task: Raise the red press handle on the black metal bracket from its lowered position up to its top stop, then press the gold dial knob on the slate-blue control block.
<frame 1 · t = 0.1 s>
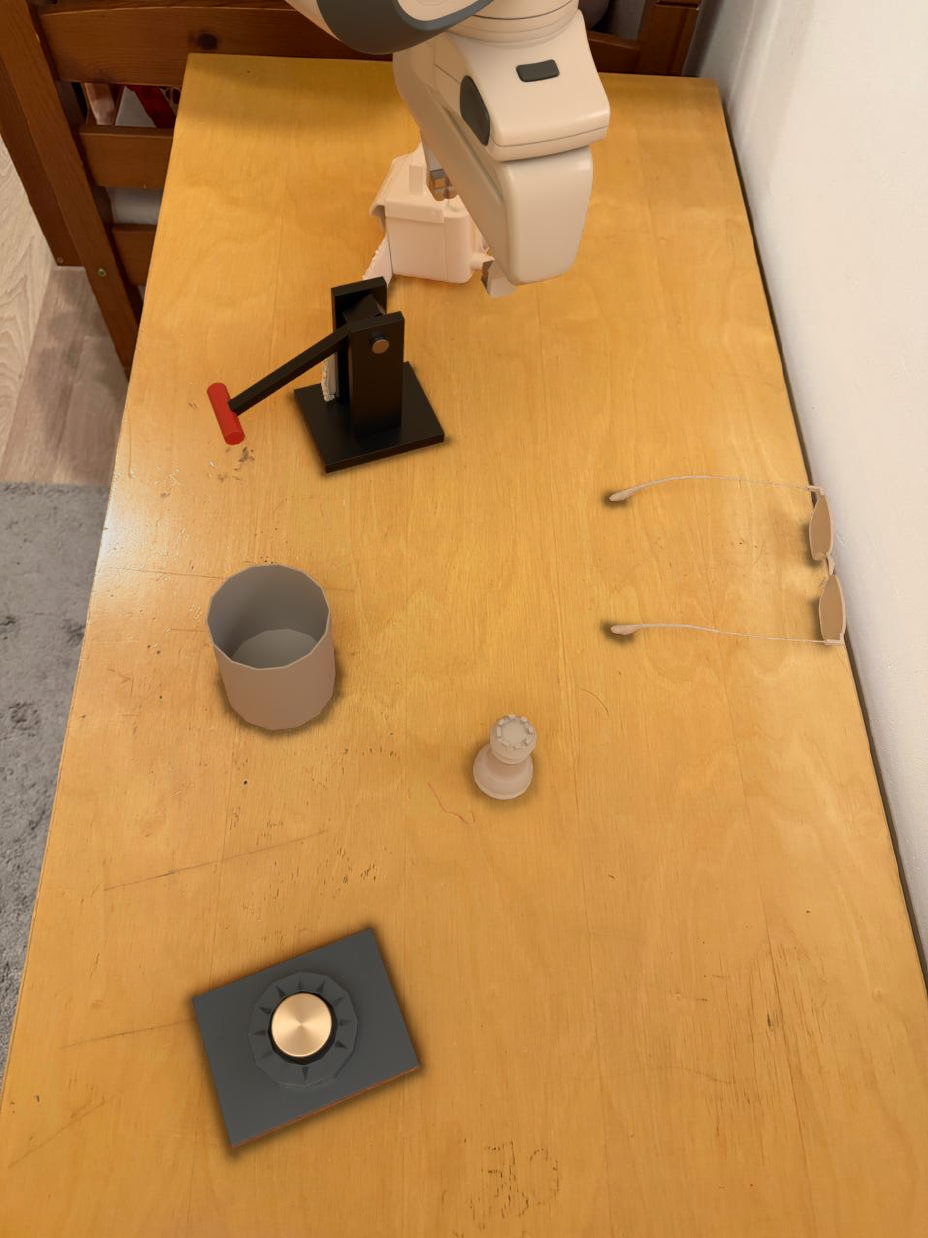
hand: (468, 239, 65), 26 cm above the table, tool pointing down, fingers open, 8 cm apart
press bracket: (368, 419, 91), on the table
gold dial knob: (302, 1026, 61), point 4 cm above the table, slide at 0.1 cm
button block: (306, 1036, 65), on the table
cup: (280, 680, 78), on the table
chainsaw: (431, 296, 99), on the table, touching press bracket
press lever: (298, 365, 81), point 9 cm above the table, hinge at -28.0°
eyeglasses: (714, 574, 85), on the table
rook chess piece: (501, 774, 75), on the table
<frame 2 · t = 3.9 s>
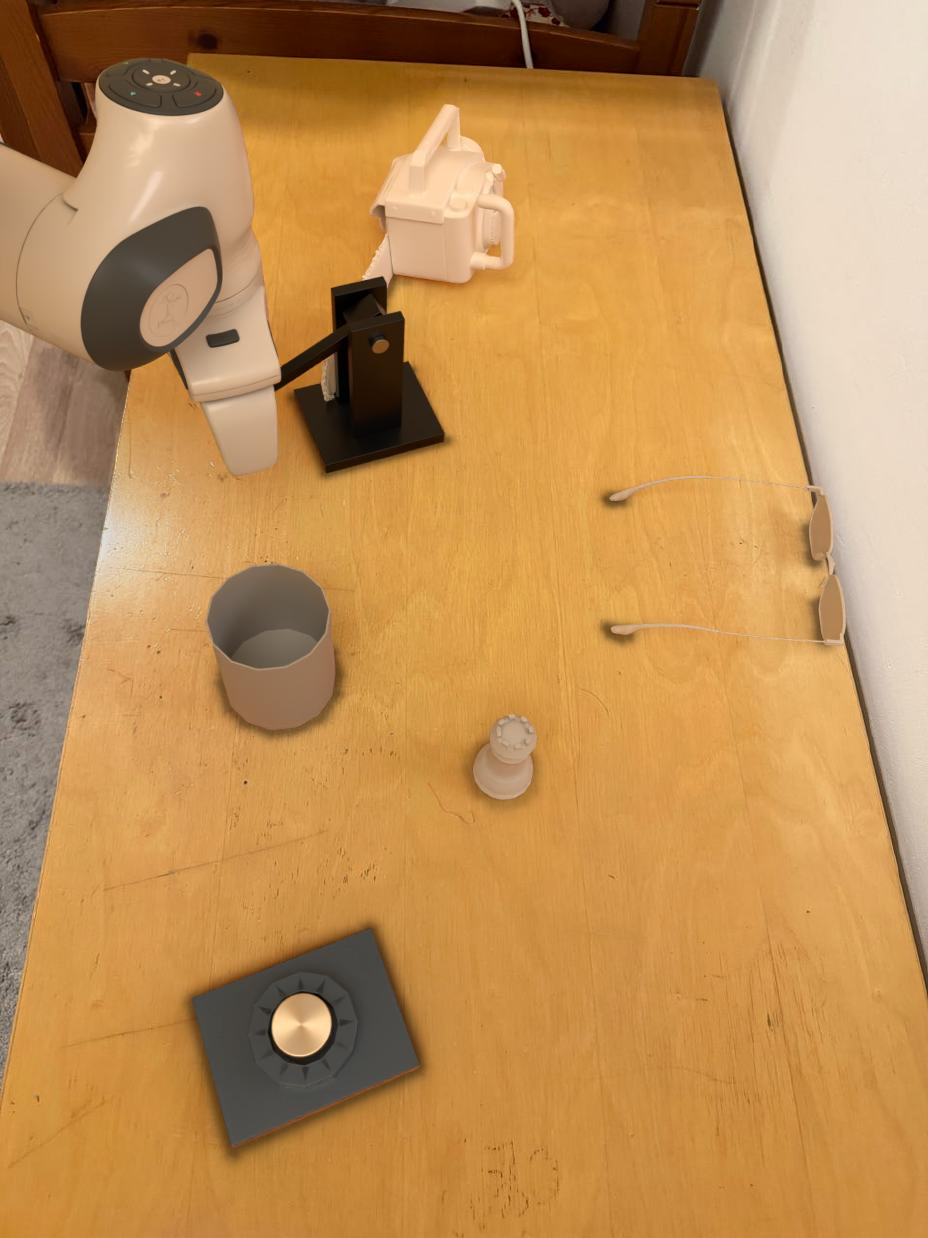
hand: (227, 421, 83), 5 cm above the table, tool pointing down, fingers closed on press lever, 5 cm apart
press lever: (298, 365, 81), point 9 cm above the table, hinge at -28.0°, touching gripper
everything else where it was.
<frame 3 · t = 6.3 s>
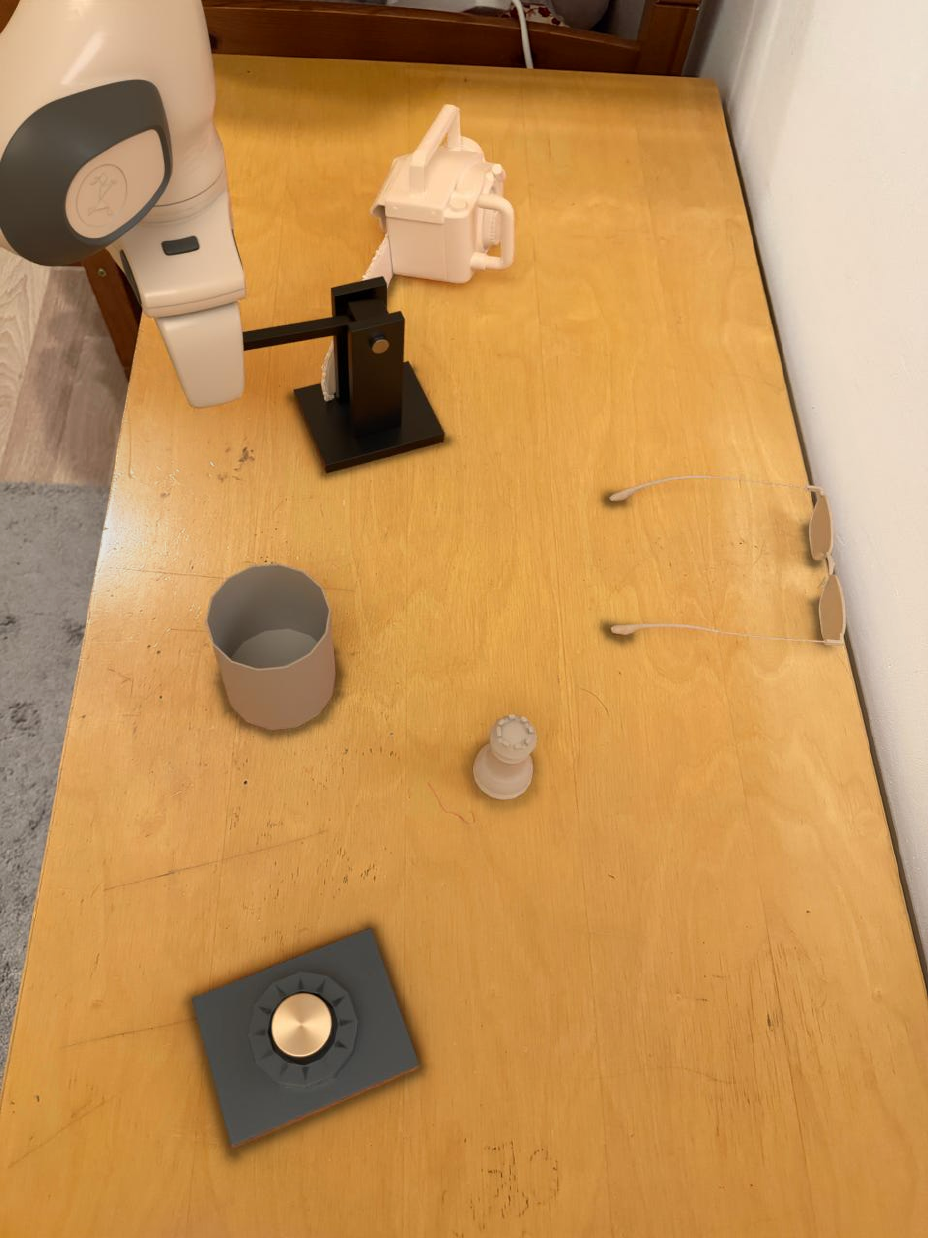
hand: (190, 357, 76), 13 cm above the table, tool pointing down, fingers closed on press lever, 5 cm apart
press lever: (285, 334, 78), point 13 cm above the table, hinge at 4.8°, touching gripper
everything else where it was.
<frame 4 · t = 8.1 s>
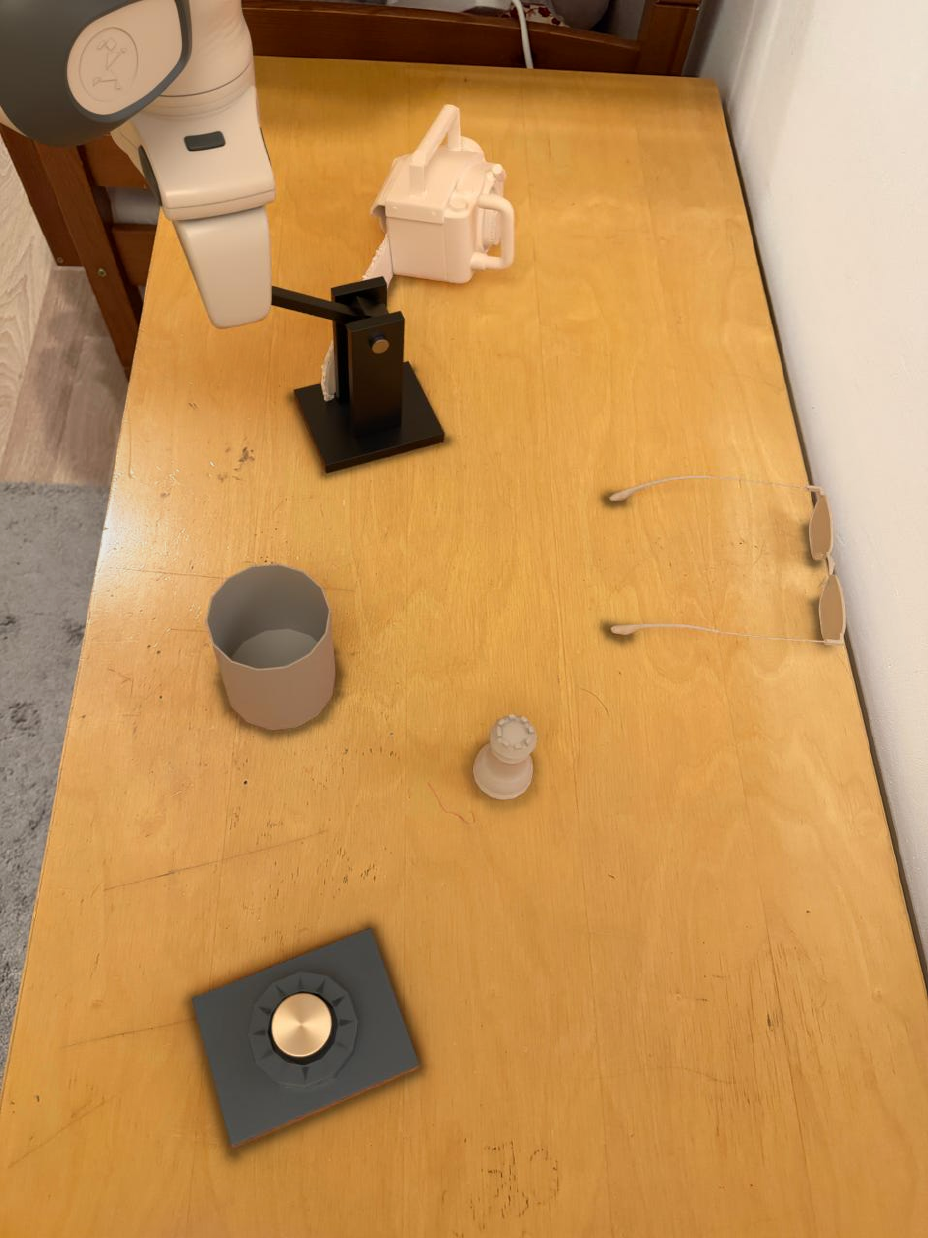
hand: (210, 283, 71), 19 cm above the table, tool pointing down, fingers closed on press lever, 5 cm apart
press lever: (295, 301, 76), point 16 cm above the table, hinge at 32.2°, touching gripper
everything else where it was.
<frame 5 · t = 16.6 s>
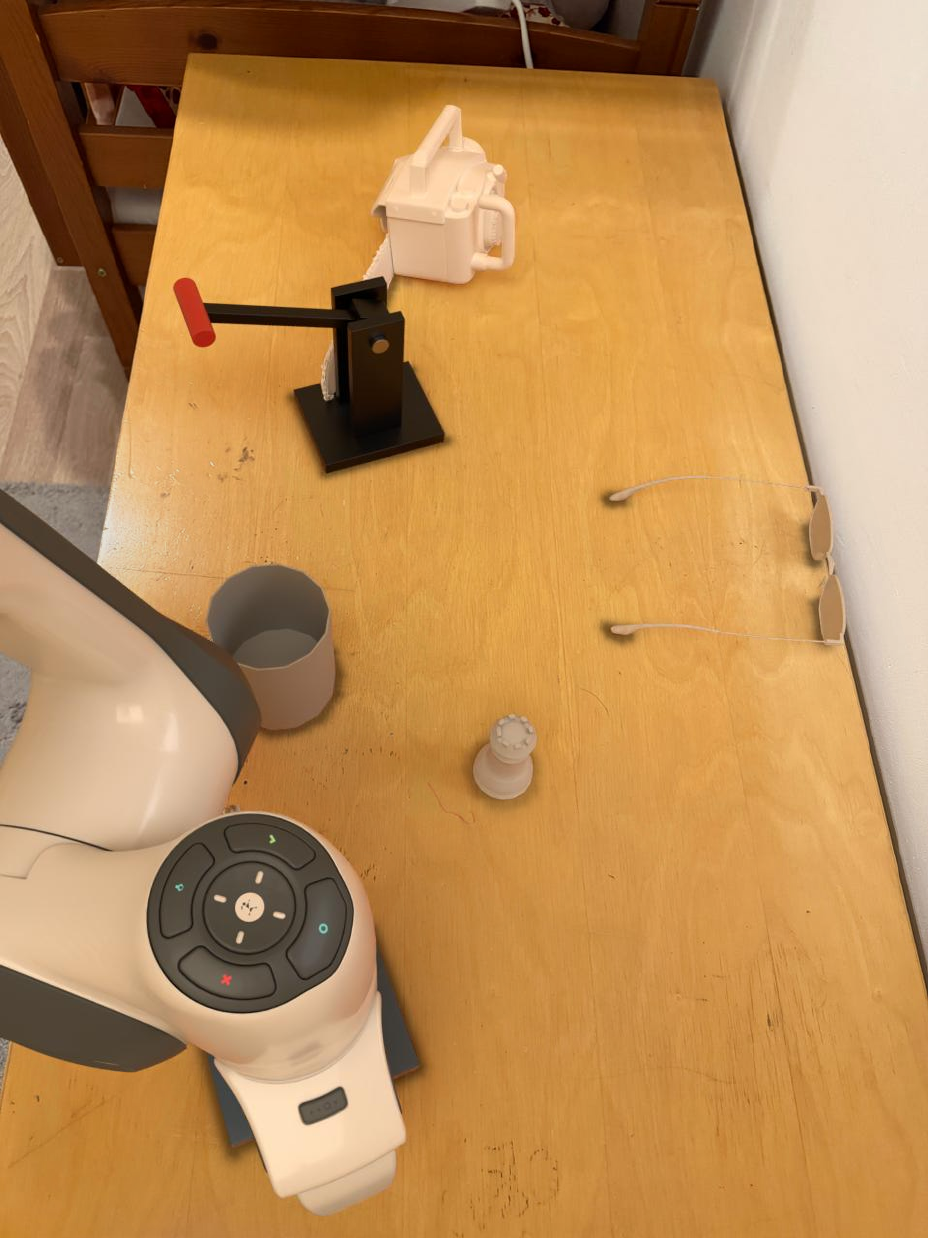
hand: (305, 1024, 61), 5 cm above the table, tool pointing down, fingers closed, pressing on gold dial knob
gold dial knob: (303, 1028, 62), point 4 cm above the table, slide at -0.5 cm, touching gripper
press lever: (288, 316, 77), point 14 cm above the table, hinge at 19.7°
everything else where it was.
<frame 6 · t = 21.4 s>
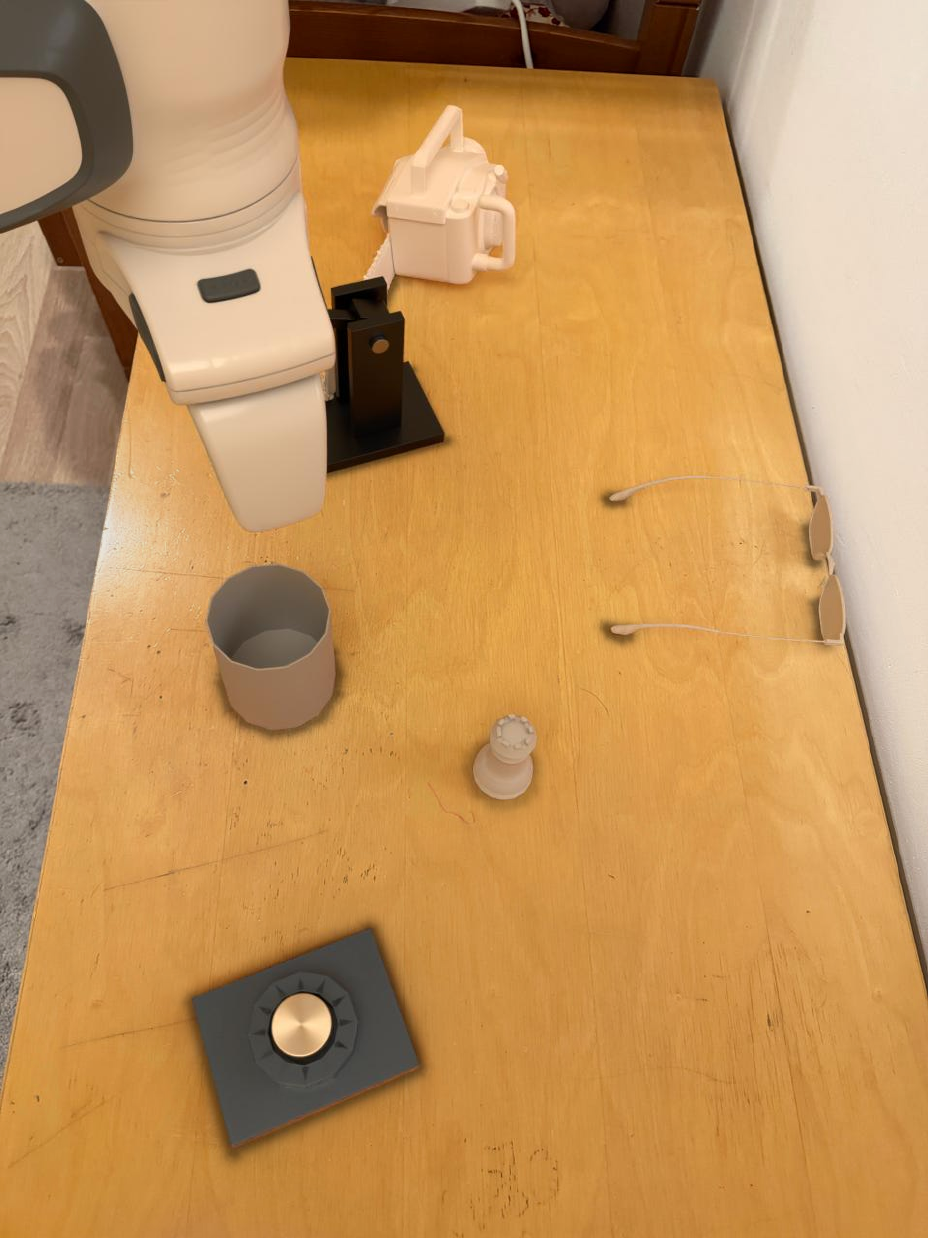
hand: (234, 434, 52), 29 cm above the table, tool pointing down, fingers closed
gold dial knob: (302, 1026, 61), point 4 cm above the table, slide at 0.1 cm
everything else where it was.
at the end: press lever at +20° (first picture: -28°); gold dial knob pushed in 1.1 cm at the most during the clip, back to where it started at the end; gold dial knob slide at 0.1 cm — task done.
